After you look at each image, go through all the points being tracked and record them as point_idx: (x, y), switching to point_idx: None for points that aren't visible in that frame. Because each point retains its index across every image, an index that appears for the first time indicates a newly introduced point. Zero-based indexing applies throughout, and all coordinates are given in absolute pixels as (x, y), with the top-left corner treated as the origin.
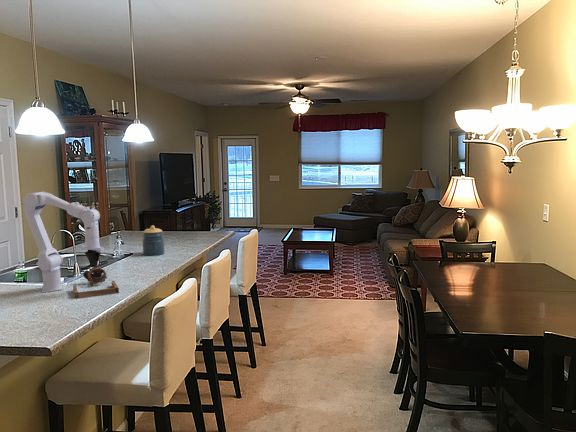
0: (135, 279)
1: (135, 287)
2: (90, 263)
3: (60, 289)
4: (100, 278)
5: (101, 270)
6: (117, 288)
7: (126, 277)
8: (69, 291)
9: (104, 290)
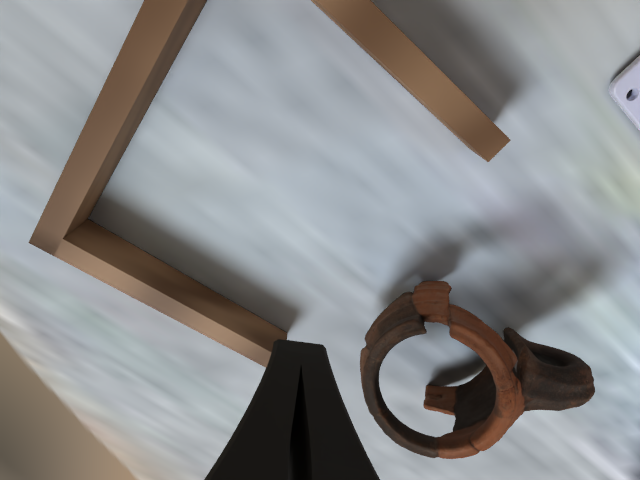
0: None
1: (102, 356)
2: (315, 391)
3: (626, 73)
4: (371, 350)
5: (425, 439)
6: (34, 234)
7: None
8: (505, 87)
9: (77, 145)
